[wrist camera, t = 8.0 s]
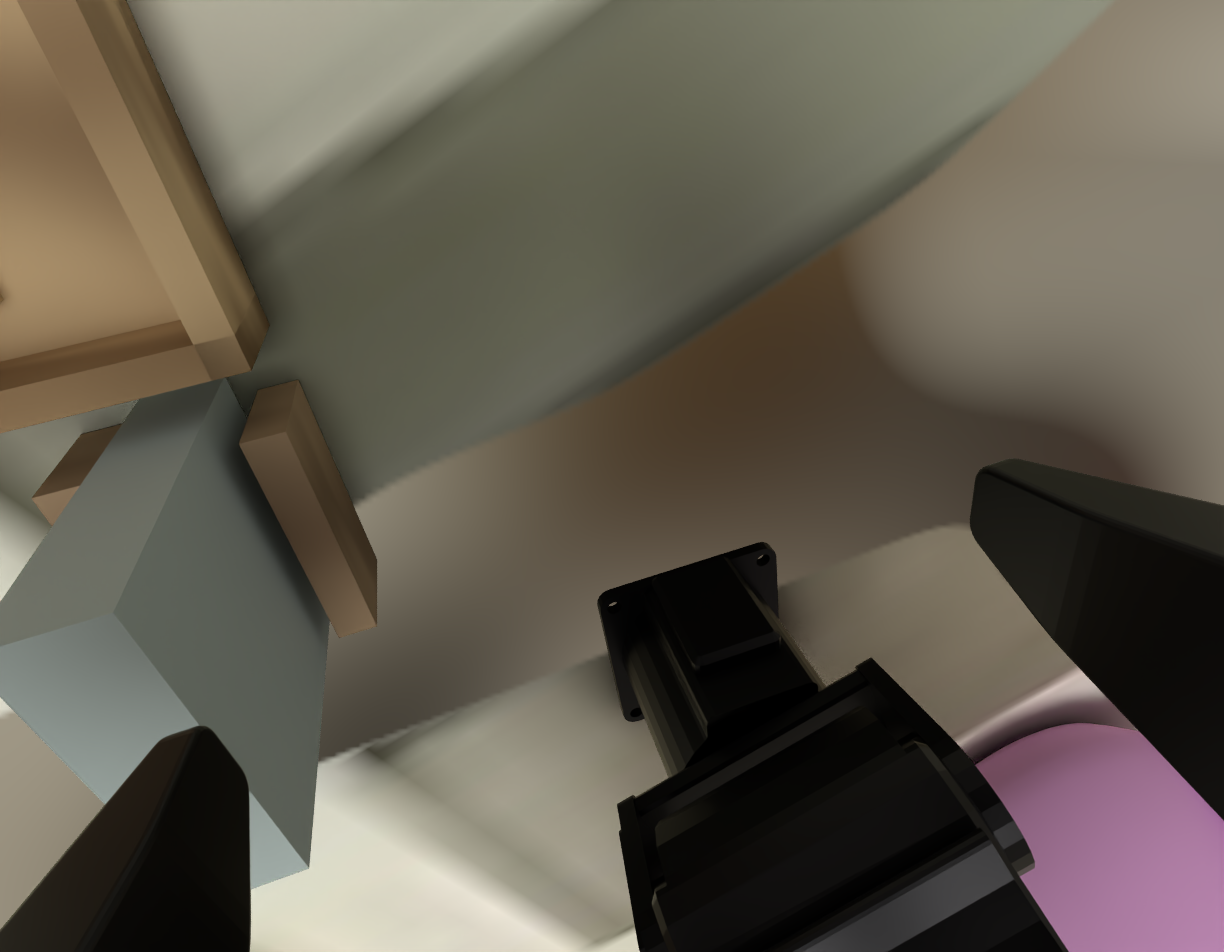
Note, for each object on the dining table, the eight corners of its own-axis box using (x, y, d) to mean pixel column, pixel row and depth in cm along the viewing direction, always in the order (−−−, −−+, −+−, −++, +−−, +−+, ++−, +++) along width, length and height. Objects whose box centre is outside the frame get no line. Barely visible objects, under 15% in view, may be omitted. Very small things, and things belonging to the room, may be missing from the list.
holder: (376, 559, 21) (376, 626, 19) (197, 612, 21) (172, 689, 18) (298, 379, 18) (285, 431, 16) (81, 434, 17) (31, 498, 15)
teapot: (1011, 921, 50) (1197, 1176, 39) (790, 915, 41) (953, 1254, 29) (1250, 701, 43) (1563, 934, 32) (1053, 628, 33) (1405, 928, 22)
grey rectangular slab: (332, 584, 21) (308, 868, 14) (265, 605, 21) (204, 906, 14) (224, 375, 18) (112, 612, 10) (140, 397, 17) (-39, 658, 10)
